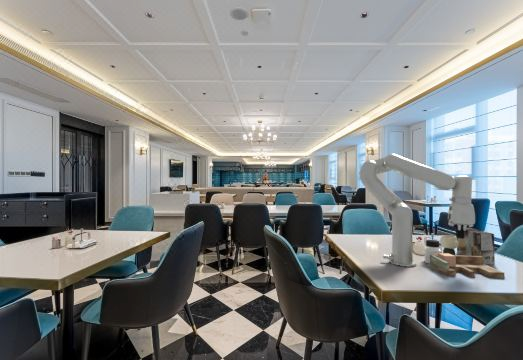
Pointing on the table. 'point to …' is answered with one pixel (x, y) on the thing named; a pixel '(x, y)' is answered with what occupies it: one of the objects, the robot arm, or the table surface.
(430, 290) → the table surface
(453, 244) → the character mug
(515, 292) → the table surface
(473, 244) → the coffee box
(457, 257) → the trap box
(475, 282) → the table surface
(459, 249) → the coffee box
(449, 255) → the block
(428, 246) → the medicine bottle
